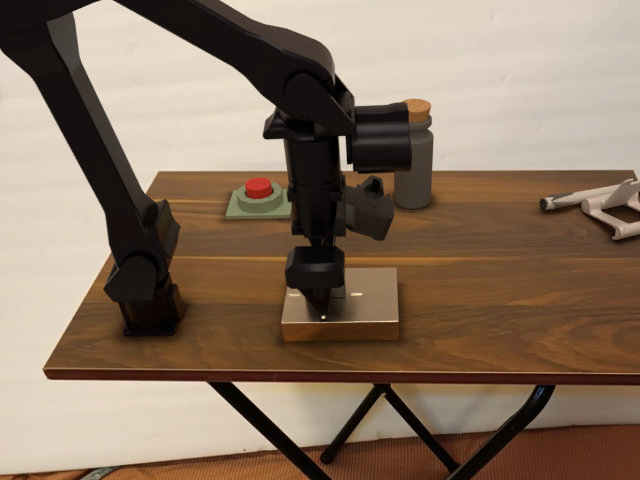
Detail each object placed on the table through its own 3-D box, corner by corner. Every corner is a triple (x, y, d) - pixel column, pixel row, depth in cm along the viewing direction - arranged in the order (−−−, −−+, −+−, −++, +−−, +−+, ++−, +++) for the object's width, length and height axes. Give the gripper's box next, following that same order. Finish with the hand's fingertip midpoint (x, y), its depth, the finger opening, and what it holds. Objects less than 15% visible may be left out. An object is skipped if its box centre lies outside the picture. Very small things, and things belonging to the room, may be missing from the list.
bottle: (387, 196, 101) (386, 102, 91) (418, 187, 103) (421, 93, 93) (405, 213, 98) (407, 116, 87) (437, 203, 100) (443, 107, 89)
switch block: (225, 219, 97) (222, 205, 96) (234, 193, 103) (231, 179, 101) (290, 218, 97) (288, 204, 96) (295, 192, 103) (293, 178, 101)
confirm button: (244, 200, 97) (243, 190, 96) (248, 187, 100) (246, 177, 99) (270, 200, 97) (269, 189, 96) (273, 187, 100) (272, 177, 99)
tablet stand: (672, 226, 91) (634, 232, 99) (664, 171, 90) (627, 181, 98) (621, 239, 89) (587, 244, 97) (613, 182, 88) (579, 192, 96)
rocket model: (546, 209, 95) (712, 179, 102) (543, 193, 95) (710, 164, 101) (539, 213, 97) (701, 183, 104) (536, 197, 97) (699, 169, 104)
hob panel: (284, 341, 77) (280, 321, 75) (292, 287, 85) (289, 267, 83) (398, 340, 77) (398, 320, 75) (396, 285, 85) (396, 266, 82)
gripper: (391, 218, 61) (391, 339, 72) (388, 133, 74) (389, 247, 85) (275, 220, 61) (293, 341, 72) (293, 135, 74) (306, 248, 85)
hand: (325, 290), depth 78 cm, fingers open, 9 cm apart
